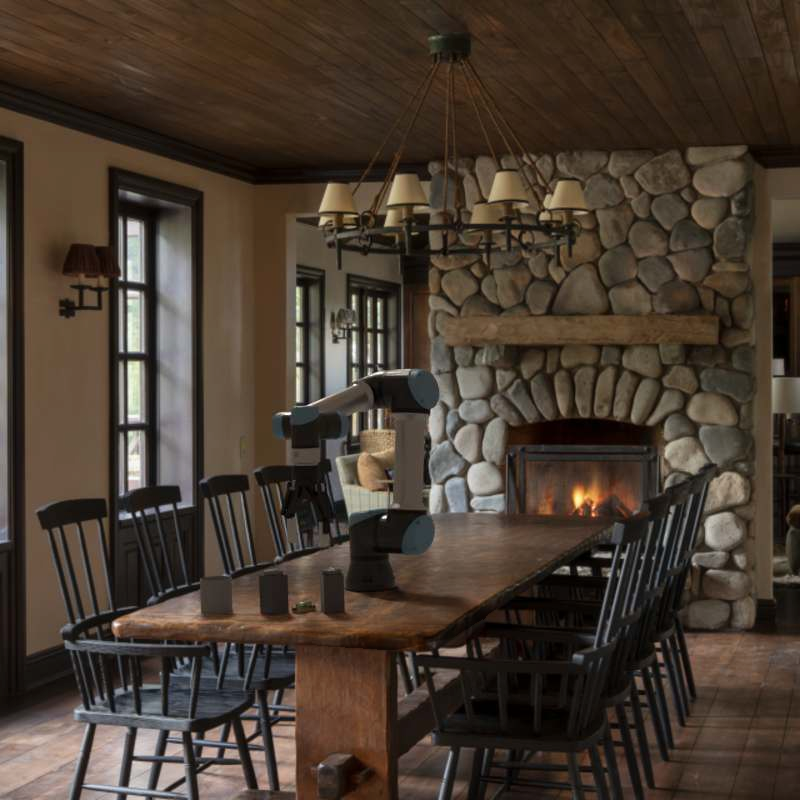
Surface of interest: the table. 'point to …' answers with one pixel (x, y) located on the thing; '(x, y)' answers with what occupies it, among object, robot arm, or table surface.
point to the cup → (216, 594)
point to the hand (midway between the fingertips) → (308, 544)
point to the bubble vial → (303, 607)
